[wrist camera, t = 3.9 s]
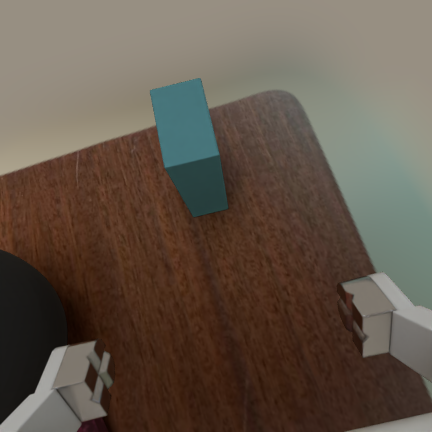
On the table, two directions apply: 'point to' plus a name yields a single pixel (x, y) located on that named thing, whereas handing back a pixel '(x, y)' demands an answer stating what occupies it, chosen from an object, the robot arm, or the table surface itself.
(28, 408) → the robot arm
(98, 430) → the book
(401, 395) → the table surface
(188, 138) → the teal rectangular block
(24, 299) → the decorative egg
